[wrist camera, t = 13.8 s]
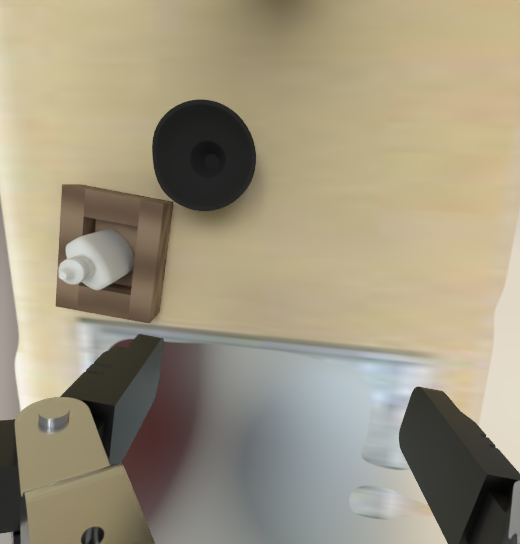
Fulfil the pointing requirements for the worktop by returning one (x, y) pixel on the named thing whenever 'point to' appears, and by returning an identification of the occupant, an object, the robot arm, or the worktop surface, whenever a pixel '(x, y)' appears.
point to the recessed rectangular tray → (139, 235)
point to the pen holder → (203, 155)
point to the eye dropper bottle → (97, 259)
